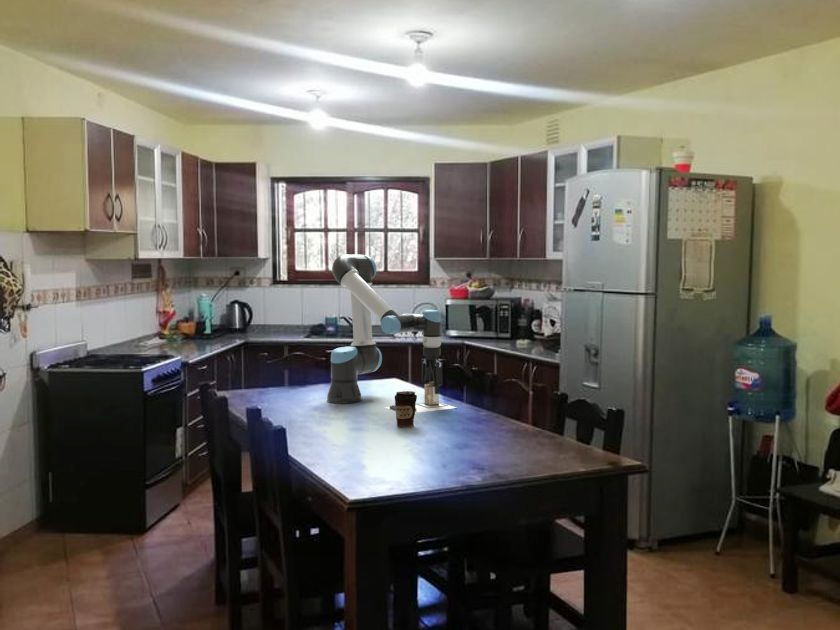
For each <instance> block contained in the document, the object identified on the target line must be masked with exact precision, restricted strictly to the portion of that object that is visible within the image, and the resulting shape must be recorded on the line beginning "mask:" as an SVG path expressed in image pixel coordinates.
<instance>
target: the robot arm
mask: <svg viewBox="0 0 840 630" xmlns="http://www.w3.org/2000/svg"><path fill="white" fill-rule="evenodd" d="M377 270H378V269H377V264H376V262H375V260H374V259H373V258H372V257H371V256H370V255H367V254H360V253H359V254H342V255H339V256H337V257H336V258H335V259H334V261H333V263H332V265H331V271H332V276H333V277H334V279H335V280H336V282H337V283H338V284H339V285H340V286H341V287H343V288H346V289H347V290H348V291H349V292H350V303H351V316H352V317H351V319H352V335H353V341H352V342H351V344H350V346H341V347H337V348H335V349H333V350H332V351H331V353H330V385H329V389H328V392H327V395H326V400H327V402H328V403H333V404H353V403H358V402H361V401H362V393H361V390H360V387H359V384H358V376H359V375H363V374H370V373H373V372H376V371H377V370H378V369H379V368H380V367H381V365H382V361H383V354H382V352H381V350H380V349H379V348H378V347H377V342H375V340H373V325H372V316H374V317H375V318H376V319H377V320H378V322H380V328H381V331H382V332H384V333H385V334H387V335H395V334H396V335H397V334H402V333H411V332H420V333H421V332H422V334H423V335H422V336H423V337H422V338H423V340H422V345H423V347H422V355H423V356H424V357H425V358H421V376H420V377H421V379H420V381H421V382H422V383H423V384H424V387H425V386H429V382H430V381H431V377H432V381H433V382H434V385H433V402H437V401H439V402H440V387H441V386H443V385H444V383H443V380H444V379H443V364H444V363H443V361H440V359H439V357H440V356H441V353H442V351H441V349H442V348H441V345H442V340H441V339H442V338H441V337H442V335H441V329H442V325H441V324H442V317H441V316H442V315H441V311H440V310H438V309H424V310H423V313H422V314H420V313H419V314H418V313H410V312H409V313H403V314H399V313H397V312H396V311H395V310H394V309H393V308H392V307H391V306H390V305H389V304H388V303H387V302H386V301H385V300H384V299H383V298H382V297H381V296H380V295H379V294H378V293H377V292H376V291H375V290H374V289H373V288H372V287H371V286H372V285H373V279H374V278H375V277H376V274H377Z"/></svg>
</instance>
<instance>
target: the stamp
mask: <svg viewBox="0 0 840 630" xmlns="http://www.w3.org/2000/svg"><path fill="white" fill-rule="evenodd" d="M433 385H434V382H433V380H432V381H431V380H430V382H429V386H425V385H424V403H425V405H427V406H438V405H439V403H440V400H439V401H437V402H433Z"/></svg>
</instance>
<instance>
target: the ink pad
mask: <svg viewBox="0 0 840 630" xmlns="http://www.w3.org/2000/svg"><path fill="white" fill-rule="evenodd" d="M389 406H390V409H392V410H391V411H393V410H394V411H393V412H396V409H395V404H394V405H393V404H391V405H389ZM390 409H389V410H390ZM415 411H416V408H415Z"/></svg>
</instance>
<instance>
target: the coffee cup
mask: <svg viewBox="0 0 840 630" xmlns="http://www.w3.org/2000/svg"><path fill="white" fill-rule="evenodd" d="M417 398H418V395H417V394H416V392H415V391H411V390H409V391H408V390H407V391H406V390H405V391H404V390H402V391H397V392H396V394H395V395H394V405H395V409H396V411H395V418H396V426H397V427H399V428H413V427H415V424H414V420H415V415H416V413H415V405H416V403H417Z"/></svg>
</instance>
